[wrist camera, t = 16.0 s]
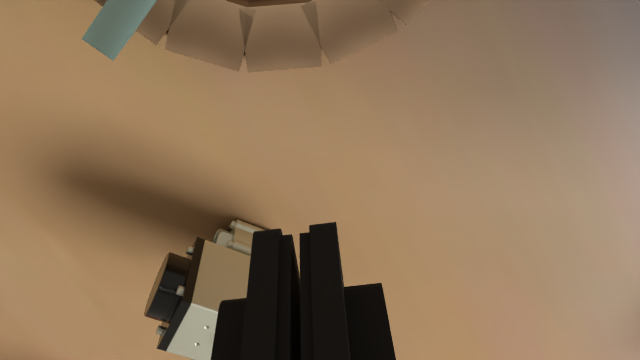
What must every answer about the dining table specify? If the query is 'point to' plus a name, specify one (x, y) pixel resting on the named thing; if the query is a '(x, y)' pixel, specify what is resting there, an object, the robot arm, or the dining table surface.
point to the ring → (251, 28)
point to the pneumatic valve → (200, 290)
